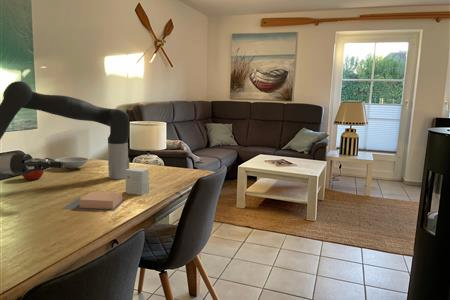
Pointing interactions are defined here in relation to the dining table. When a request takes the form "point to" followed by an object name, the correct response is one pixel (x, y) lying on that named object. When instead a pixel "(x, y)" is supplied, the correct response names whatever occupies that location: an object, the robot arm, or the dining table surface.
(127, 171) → the small box
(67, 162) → the dish
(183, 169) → the dining table surface
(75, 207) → the mat
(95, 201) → the pink rectangular block
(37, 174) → the fruit
